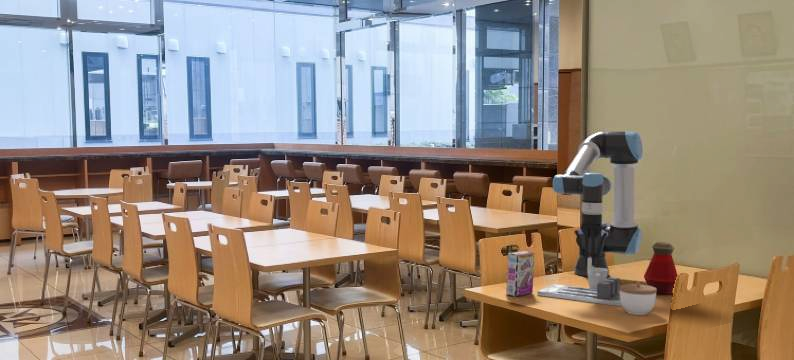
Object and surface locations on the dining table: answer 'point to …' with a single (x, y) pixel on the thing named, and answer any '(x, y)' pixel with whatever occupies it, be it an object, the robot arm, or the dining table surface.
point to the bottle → (661, 269)
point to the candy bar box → (520, 273)
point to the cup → (597, 277)
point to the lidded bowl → (637, 298)
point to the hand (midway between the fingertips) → (590, 274)
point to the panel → (578, 294)
